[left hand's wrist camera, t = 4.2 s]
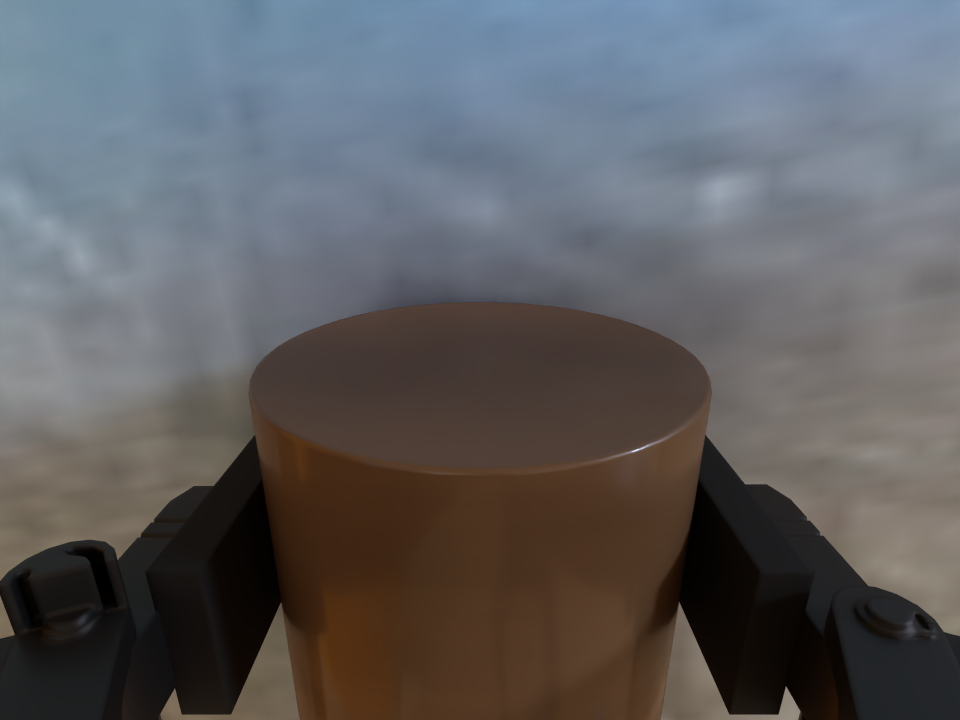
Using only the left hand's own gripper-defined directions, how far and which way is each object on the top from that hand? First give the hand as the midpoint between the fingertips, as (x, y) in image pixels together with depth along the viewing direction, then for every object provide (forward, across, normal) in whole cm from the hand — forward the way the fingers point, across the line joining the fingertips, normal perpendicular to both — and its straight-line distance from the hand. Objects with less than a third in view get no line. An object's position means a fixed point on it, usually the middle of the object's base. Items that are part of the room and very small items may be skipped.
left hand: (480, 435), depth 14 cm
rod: (0, 0, -9) cm, 9 cm away
